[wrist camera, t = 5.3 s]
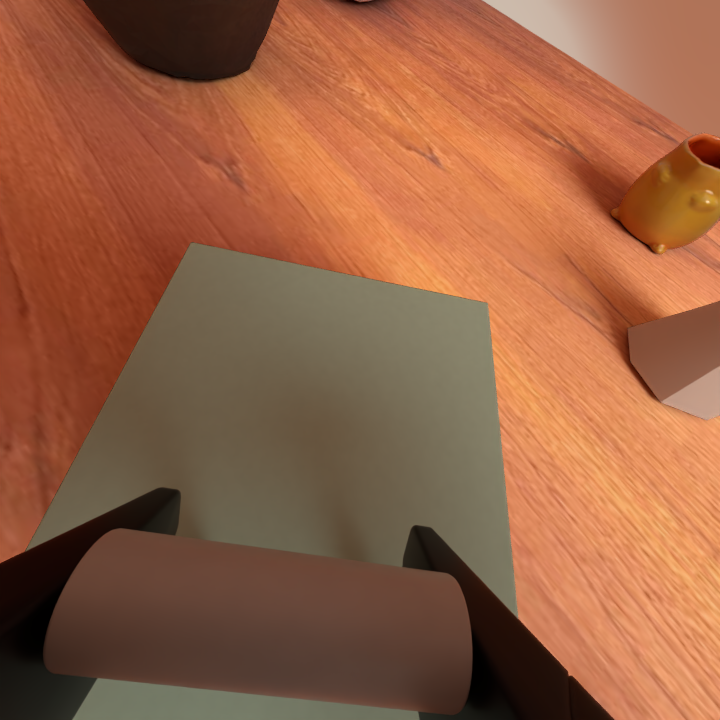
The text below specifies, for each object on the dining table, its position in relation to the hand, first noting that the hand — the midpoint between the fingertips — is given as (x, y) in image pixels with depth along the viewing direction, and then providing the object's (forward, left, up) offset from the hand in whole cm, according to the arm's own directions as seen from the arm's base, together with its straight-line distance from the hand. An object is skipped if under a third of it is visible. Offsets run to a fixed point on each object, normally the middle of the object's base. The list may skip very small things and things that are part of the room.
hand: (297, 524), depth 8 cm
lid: (+2, +1, -2) cm, 3 cm away
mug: (+38, -13, -8) cm, 41 cm away
